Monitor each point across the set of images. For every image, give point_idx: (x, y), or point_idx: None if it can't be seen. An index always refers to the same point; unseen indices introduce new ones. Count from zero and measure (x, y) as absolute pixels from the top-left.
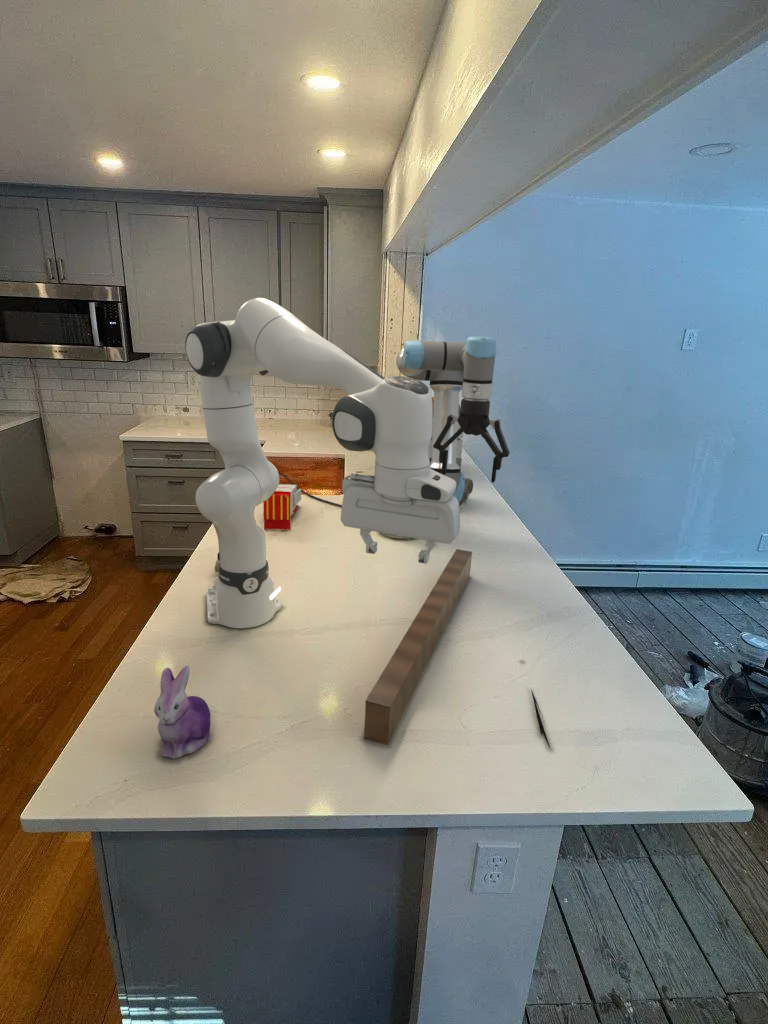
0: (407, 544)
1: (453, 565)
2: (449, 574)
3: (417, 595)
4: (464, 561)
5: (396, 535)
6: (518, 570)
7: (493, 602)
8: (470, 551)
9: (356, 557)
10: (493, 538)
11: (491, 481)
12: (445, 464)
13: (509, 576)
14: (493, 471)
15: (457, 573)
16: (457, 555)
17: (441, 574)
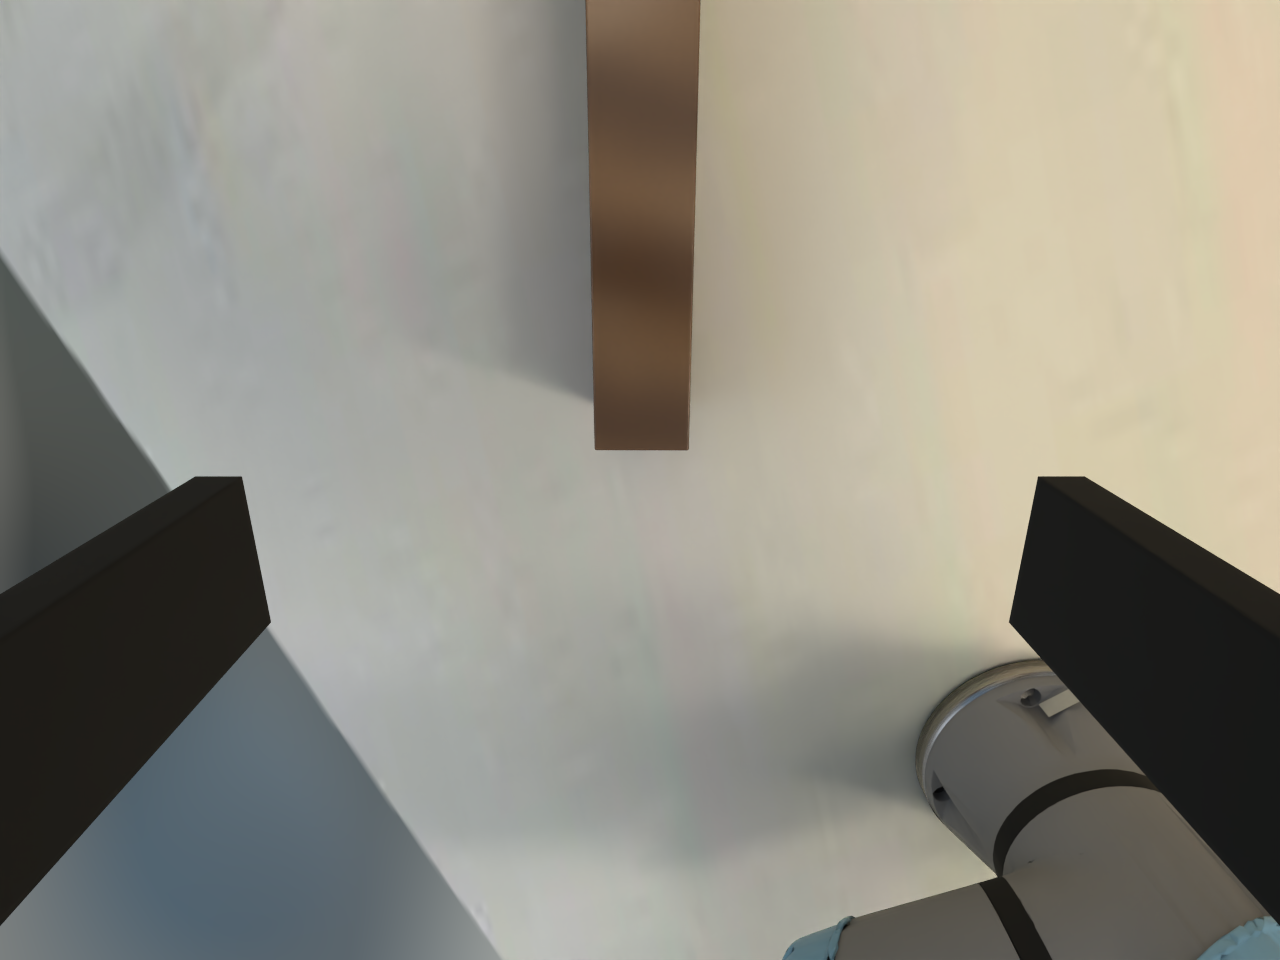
0: (963, 636)
1: (655, 196)
2: (650, 42)
3: (809, 89)
4: (605, 288)
5: (1039, 674)
6: (407, 572)
7: (431, 184)
8: (604, 446)
9: (1199, 393)
10: (588, 840)
11: (230, 483)
12: (1150, 611)
13: (430, 495)
14: (89, 557)
15: (606, 83)
16: (663, 357)
17: (698, 17)
